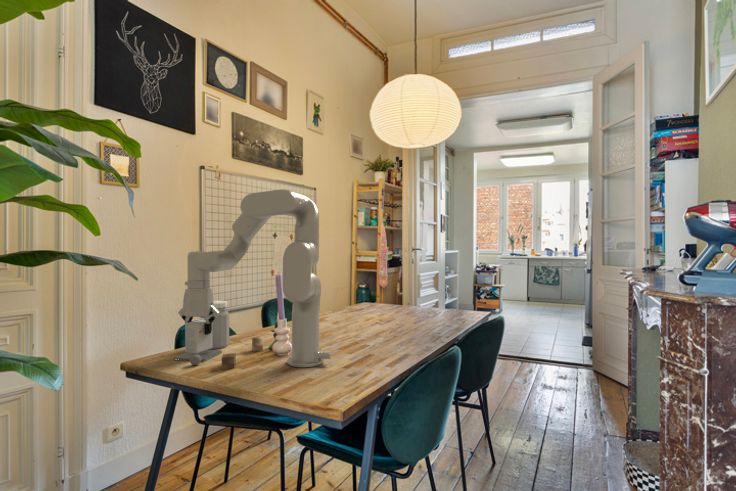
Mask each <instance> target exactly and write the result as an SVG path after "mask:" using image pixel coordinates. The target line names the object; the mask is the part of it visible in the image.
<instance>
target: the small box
mask: <svg viewBox="0 0 736 491" xmlns="http://www.w3.org/2000/svg"><path fill="white" fill-rule="evenodd" d="M205 324H206V321H205V320H204V318H202V319H198V320H197V319H196V320H194V321H193V320H192V322H189V323H185V322H184V326H185V327H184V331H185V332H184V333H185V334H184V335H185V336H184V337H185V338H184V339H185V342H184V345H185V347H184V348H185V352H191V353H199V352H202V351H205V350H212V349H211V348H213V340H212V331H211V333H210V334H208V335H205Z"/></svg>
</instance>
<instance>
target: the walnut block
mask: <svg viewBox="0 0 736 491" xmlns="http://www.w3.org/2000/svg"><path fill="white" fill-rule="evenodd" d="M236 355H237V354H236V353H223V355H222V356H221V370H229V369H232V368H234V369H235V367H236V365H237V364H236V363H237V362H236V361H237V360H236V357H237V356H236Z"/></svg>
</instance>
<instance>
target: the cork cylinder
mask: <svg viewBox="0 0 736 491" xmlns="http://www.w3.org/2000/svg"><path fill="white" fill-rule="evenodd" d="M263 342H264V338H263V336H253V337H252V338H251V352H253V353H260V352H263V351H264V348H263V346H264V344H263Z"/></svg>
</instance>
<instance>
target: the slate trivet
mask: <svg viewBox="0 0 736 491" xmlns="http://www.w3.org/2000/svg"><path fill="white" fill-rule="evenodd" d="M222 353H223V350H219V349H208V350H205V351H202V352H199V353H191V352H186V351H185V352H183V353H181V354H179V355H177V356H175V357H173V359H179V360H178V361H180V360H190V358H191V357H192V356H193V355H195V354H197V355H200V356H201V361H205V362H207V361H209V360H211V359H213V358H215V357H216V356H218V355H220V354H222ZM173 359H172V360H173Z"/></svg>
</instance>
